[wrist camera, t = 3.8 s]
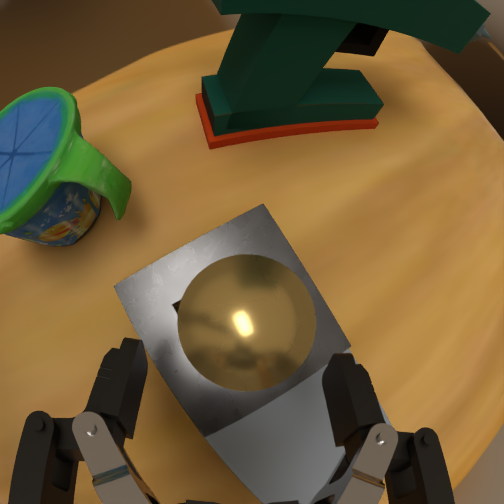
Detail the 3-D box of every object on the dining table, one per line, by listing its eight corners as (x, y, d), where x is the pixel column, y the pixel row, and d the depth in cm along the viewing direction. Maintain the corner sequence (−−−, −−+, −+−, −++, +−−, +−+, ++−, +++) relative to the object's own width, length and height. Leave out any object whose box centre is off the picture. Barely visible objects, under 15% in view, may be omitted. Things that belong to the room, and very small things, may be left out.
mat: (199, 427, 18) (198, 430, 17) (341, 340, 21) (344, 340, 20) (282, 519, 16) (284, 523, 15) (398, 442, 19) (401, 444, 18)
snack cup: (166, 177, 22) (141, 91, 12) (116, 296, 19) (43, 272, 10) (44, 146, 22) (0, 86, 12) (0, 236, 19) (-65, 198, 9)
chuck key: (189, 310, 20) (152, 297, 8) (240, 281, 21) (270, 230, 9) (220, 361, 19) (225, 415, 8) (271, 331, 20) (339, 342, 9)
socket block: (131, 292, 20) (113, 285, 16) (255, 224, 22) (263, 203, 18) (206, 417, 18) (204, 437, 14) (328, 342, 20) (351, 345, 17)
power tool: (416, 91, 31) (483, 4, 11) (441, 128, 29) (523, 44, 10) (194, 98, 25) (195, -87, 6) (209, 149, 23) (218, -84, 4)
